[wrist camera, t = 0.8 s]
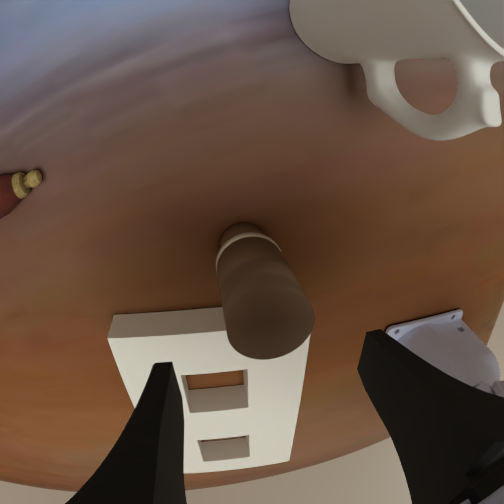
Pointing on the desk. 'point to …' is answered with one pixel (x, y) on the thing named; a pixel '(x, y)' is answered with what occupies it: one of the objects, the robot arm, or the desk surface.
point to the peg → (260, 295)
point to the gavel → (16, 189)
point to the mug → (413, 52)
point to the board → (214, 399)
